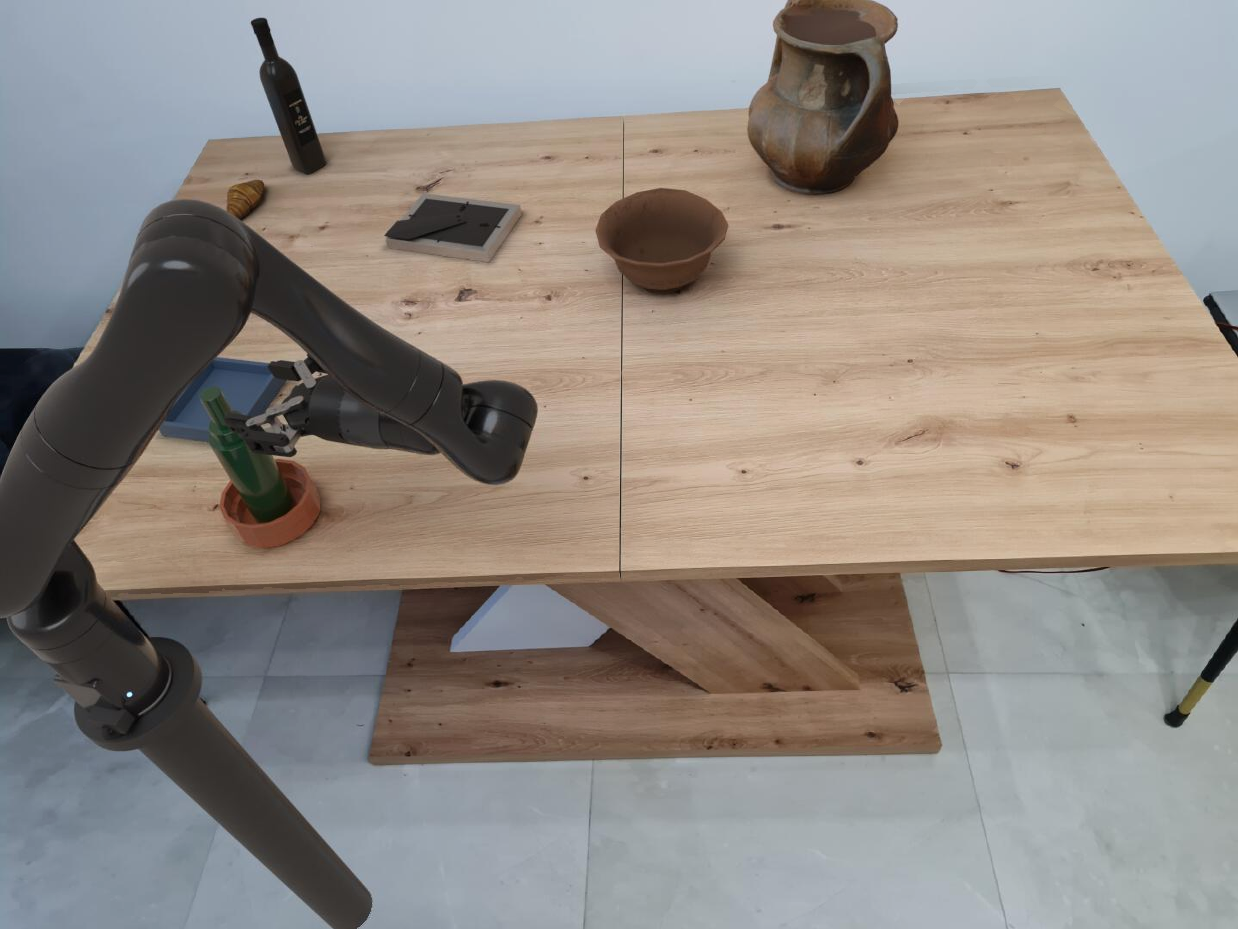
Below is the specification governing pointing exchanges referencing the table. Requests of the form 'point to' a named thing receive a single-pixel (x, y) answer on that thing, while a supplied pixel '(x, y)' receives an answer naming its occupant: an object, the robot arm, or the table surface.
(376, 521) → the table surface
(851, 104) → the jug
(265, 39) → the wine bottle
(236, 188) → the croissant
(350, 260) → the table surface
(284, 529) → the terracotta bowl
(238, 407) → the tray
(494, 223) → the picture frame
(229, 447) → the green bottle
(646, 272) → the bowl
